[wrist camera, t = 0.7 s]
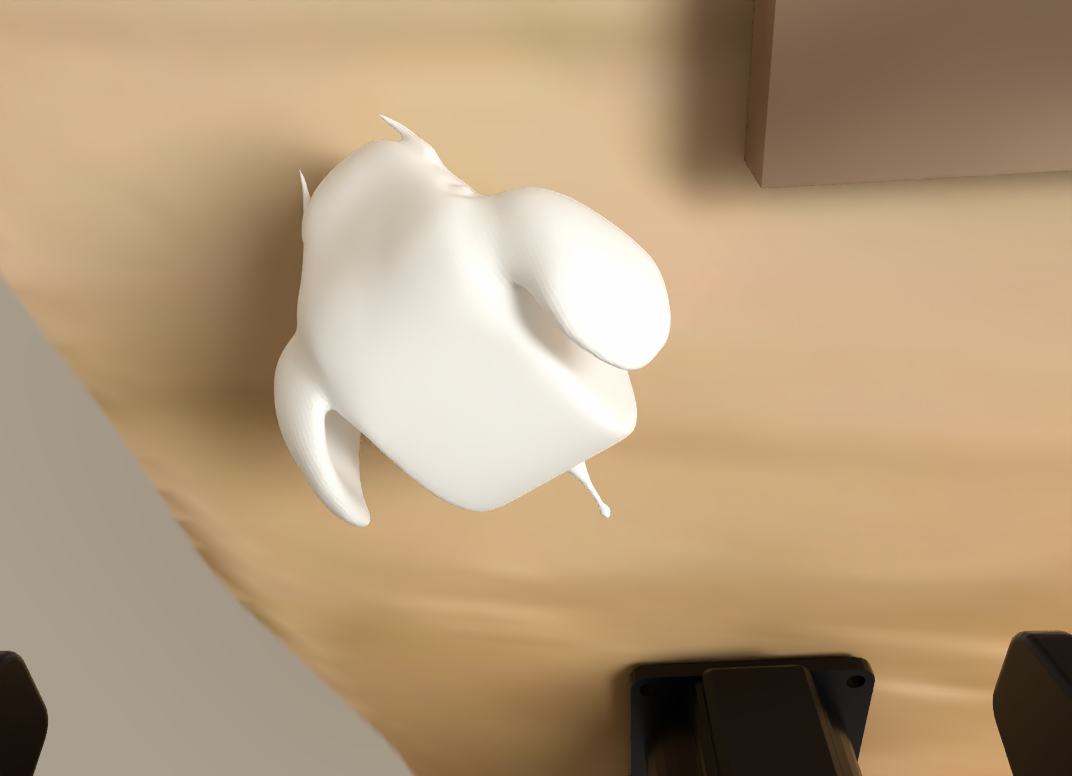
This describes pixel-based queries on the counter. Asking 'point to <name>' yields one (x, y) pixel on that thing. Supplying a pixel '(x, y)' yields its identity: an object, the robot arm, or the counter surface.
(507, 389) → the elephant figurine
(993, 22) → the walnut board
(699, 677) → the robot arm
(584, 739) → the counter surface
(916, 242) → the counter surface
